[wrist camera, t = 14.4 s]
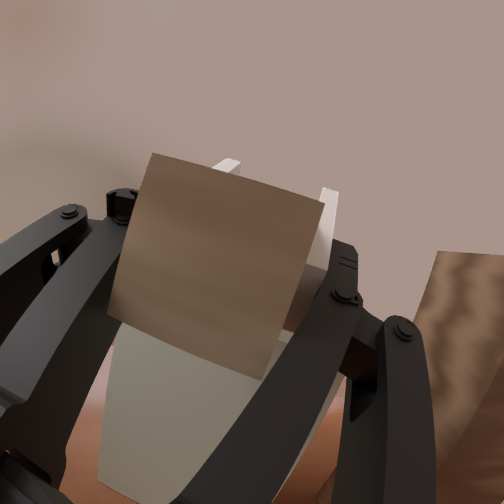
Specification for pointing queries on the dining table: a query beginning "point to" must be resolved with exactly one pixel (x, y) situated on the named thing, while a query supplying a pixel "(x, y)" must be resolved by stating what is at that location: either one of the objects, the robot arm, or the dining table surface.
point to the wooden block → (463, 376)
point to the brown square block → (213, 262)
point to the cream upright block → (171, 414)
